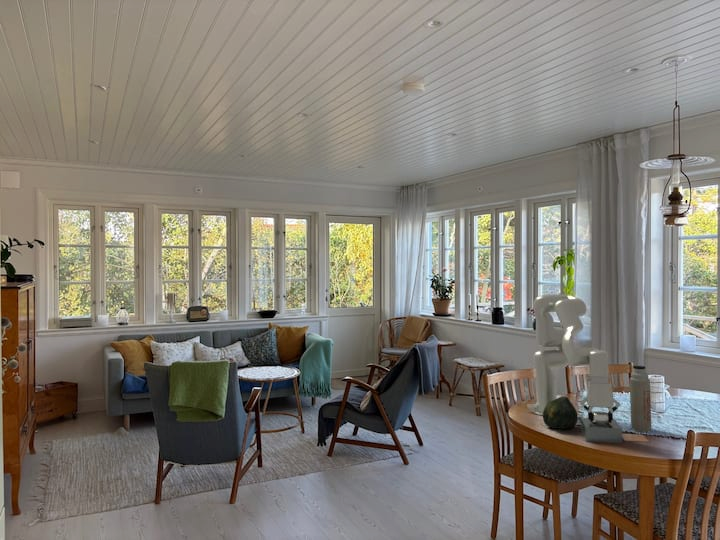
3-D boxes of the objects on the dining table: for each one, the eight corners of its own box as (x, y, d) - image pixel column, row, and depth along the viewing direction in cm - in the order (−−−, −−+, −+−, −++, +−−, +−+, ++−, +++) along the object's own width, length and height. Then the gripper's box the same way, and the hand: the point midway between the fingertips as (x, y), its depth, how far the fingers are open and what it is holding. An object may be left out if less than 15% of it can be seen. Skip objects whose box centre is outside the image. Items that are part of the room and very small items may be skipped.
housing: (585, 441, 221) (585, 426, 222) (580, 431, 235) (580, 417, 235) (622, 443, 218) (622, 428, 218) (615, 433, 231) (615, 419, 231)
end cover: (593, 439, 224) (592, 414, 224) (591, 434, 231) (590, 410, 231) (611, 440, 222) (610, 415, 222) (608, 435, 229) (607, 410, 229)
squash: (532, 412, 248) (547, 392, 239) (557, 409, 254) (573, 390, 245) (547, 438, 238) (564, 419, 229) (574, 435, 244) (590, 416, 235)
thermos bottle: (655, 430, 233) (653, 366, 233) (640, 432, 231) (638, 368, 231) (641, 425, 241) (639, 364, 241) (627, 427, 239) (625, 365, 239)
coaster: (624, 440, 221) (624, 440, 221) (619, 434, 230) (619, 433, 230) (648, 442, 219) (648, 441, 219) (642, 435, 227) (642, 434, 227)
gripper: (578, 381, 225) (579, 423, 225) (623, 382, 221) (624, 425, 221) (576, 377, 232) (577, 418, 232) (619, 378, 228) (620, 420, 228)
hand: (600, 421), depth 226 cm, fingers closed on end cover, 6 cm apart
